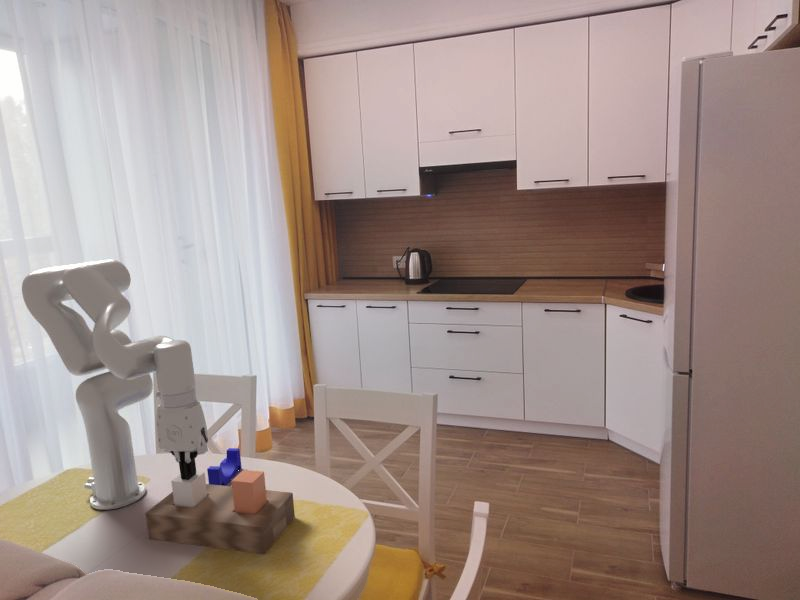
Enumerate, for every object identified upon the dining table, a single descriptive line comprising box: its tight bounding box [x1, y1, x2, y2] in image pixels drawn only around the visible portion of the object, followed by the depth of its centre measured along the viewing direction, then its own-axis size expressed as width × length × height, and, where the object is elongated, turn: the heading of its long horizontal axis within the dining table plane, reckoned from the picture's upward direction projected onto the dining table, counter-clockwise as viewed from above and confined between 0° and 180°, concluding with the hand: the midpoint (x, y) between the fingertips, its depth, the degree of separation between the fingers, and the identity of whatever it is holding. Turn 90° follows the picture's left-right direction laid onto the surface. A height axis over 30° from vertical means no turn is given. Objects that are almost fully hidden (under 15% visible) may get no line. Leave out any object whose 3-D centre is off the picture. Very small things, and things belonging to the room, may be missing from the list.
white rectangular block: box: [171, 471, 207, 508], centre depth 131 cm, size 5×5×8 cm
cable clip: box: [206, 447, 243, 486], centre depth 153 cm, size 12×4×6 cm, turn 170°
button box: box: [144, 483, 296, 555], centre depth 130 cm, size 28×14×6 cm, turn 74°
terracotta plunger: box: [230, 469, 267, 515], centre depth 127 cm, size 5×5×8 cm
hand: (188, 476), depth 131 cm, fingers closed
